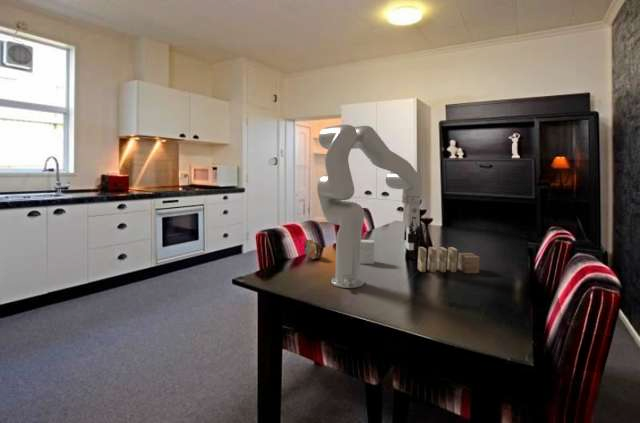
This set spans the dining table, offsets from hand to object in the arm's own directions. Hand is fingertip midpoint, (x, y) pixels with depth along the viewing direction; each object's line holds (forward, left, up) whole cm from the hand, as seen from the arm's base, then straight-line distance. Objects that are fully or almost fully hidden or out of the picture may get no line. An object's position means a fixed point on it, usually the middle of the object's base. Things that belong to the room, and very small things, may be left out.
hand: (409, 241), depth 159 cm
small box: (+13, +17, -13) cm, 25 cm away
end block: (0, -27, -13) cm, 30 cm away
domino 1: (0, 0, -3) cm, 3 cm away
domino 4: (0, -15, -13) cm, 20 cm away
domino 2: (0, -6, -13) cm, 14 cm away
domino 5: (0, -19, -13) cm, 23 cm away
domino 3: (0, -10, -13) cm, 17 cm away
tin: (+23, +42, -13) cm, 50 cm away
